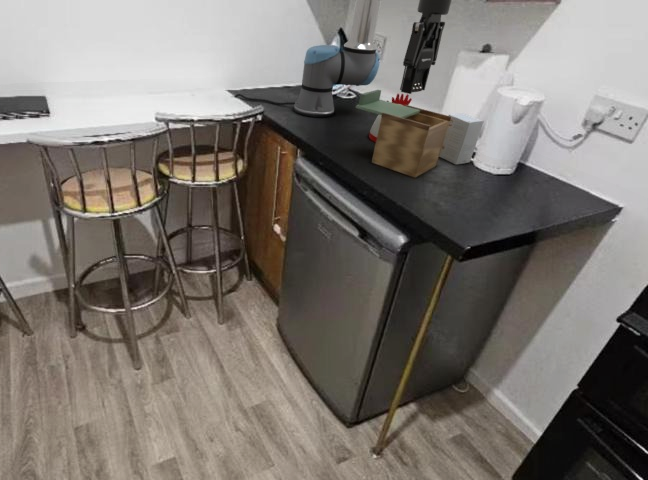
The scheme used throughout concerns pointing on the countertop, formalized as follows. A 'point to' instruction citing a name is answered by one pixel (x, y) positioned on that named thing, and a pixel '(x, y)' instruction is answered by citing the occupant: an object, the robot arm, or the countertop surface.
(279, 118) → the countertop surface
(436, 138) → the case
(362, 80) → the robot arm
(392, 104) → the lid
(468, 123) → the small box
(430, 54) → the battery charger
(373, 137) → the white toy chicken
